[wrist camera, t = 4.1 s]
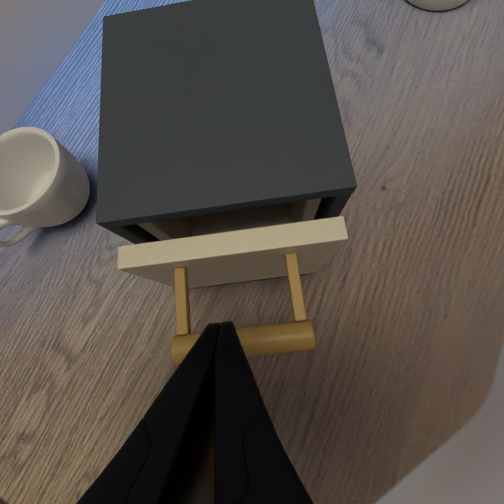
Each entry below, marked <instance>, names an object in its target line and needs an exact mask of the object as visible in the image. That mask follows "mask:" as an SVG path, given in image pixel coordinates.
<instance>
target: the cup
mask: <svg viewBox="0 0 504 504" xmlns="http://www.w3.org/2000/svg"><path fill="white" fill-rule="evenodd" d="M407 1H408V2H410V3H411V4H413V5H415V6H417V7H419V8H422V9H426V10H432V11H443V10H449V9H453V8H456V7H458V6H460V5H462V4H463V3H465V2H466V1H468V0H407Z"/></svg>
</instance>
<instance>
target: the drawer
mask: <svg viewBox="0 0 504 504" xmlns="http://www.w3.org/2000/svg"><path fill="white" fill-rule="evenodd" d="M321 199H322V198H319V199H312V200H305V201H297V202H290V203H283V204H276V205H269V206H262V207H255V208H247V209H240V210H233V211H226V212H219V213H212V214H205V215H197V216H190V217H183V218H176V219H169V220H162V221H155V222H147V223H140V224H138V225H139V226H140V227H142V228H143V229H145V230H146V231H148V232H149V233H151V234H152V235H154V236H155V237H157V238H158V239H159V240H161V241H156V242H148V243H141V244H134V245H126V246H119V247H118V269H119V270H122V271H125V272H128V273H131V274H135V275H138V276H141V277H144V278H147V279H150V280H154V281H157V282H160V283H163V284H166V285H169V286H172V287H175V307H176V331H177V336H174V337H173V339H172V342H171V358H172V361H173V363H174V364H176V365H179V364H180V363H181V362H182V361H183V359H184V358H185V356H186V355H187V353H188V352H189V351H190V349H191V348H192V346H193V345H194V343H195V342H196V340H197V339H198V338H199V336H200V335H201V333H194V334H191V323H190V305H189V288H196V287H204V286H212V285H220V284H228V283H236V282H244V281H251V280H259V279H267V278H275V277H283V276H288V283H289V289H290V296H291V303H292V310H293V316H294V321H295V322H289V323H280V324H272V325H263V326H254V327H246V328H237V329H236V331H237V334H238V337H239V339H240V342H241V344H242V347H243V350H244V352H245V355H246V357H251V356H261V355H270V354H279V353H288V352H297V351H306V350H314V349H315V347H316V342H315V334H314V329H313V326H312V323H311V321H310V320H307V317H306V311H305V305H304V298H303V292H302V286H301V280H300V274H307V273H315V272H319V270H320V269H321V268H322V267H323V266H324V265H325V264H326V263H327V262H328V261H329V260H330V258H331V257H332V256H333V255H334V254H335V253H336V252H337V251H338V250H339V249H340V247H341V246H342V245H343V244H344V243H345V242H346V241H347V240H348V235H347V230H346V225H345V221H344V217H343V216H340V217H332V218H325V219H318V220H314V217H315V214H316V212H317V209H318V207H319V204H320V201H321Z"/></svg>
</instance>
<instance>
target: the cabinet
mask: <svg viewBox="0 0 504 504" xmlns="http://www.w3.org/2000/svg"><path fill="white" fill-rule="evenodd" d="M356 187H357V185H356V180H355V176H354V172H353V168H352V163H351V159H350V155H349V150H348V146H347V142H346V138H345V133H344V129H343V125H342V121H341V116H340V112H339V108H338V104H337V99H336V95H335V91H334V86H333V82H332V78H331V74H330V69H329V65H328V61H327V57H326V52H325V48H324V44H323V39H322V35H321V31H320V27H319V22H318V18H317V14H316V10H315V5H314V1H313V0H191V1H186V2H180V3H175V4H170V5H164V6H159V7H153V8H148V9H142V10H137V11H132V12H126V13H121V14H115V15H110V16H104V17H103V41H102V69H101V97H100V124H99V152H98V180H97V208H96V223H97V224H98V225H100V226H102V227H104V228H106V229H108V230H110V231H112V232H114V233H115V234H117V235H119V236H121V237H123V238H125V239H127V240H129V241H130V242H132V243H134V244H141V243H148V242H156V241H161V240H159V239H158V238H157V237H155V236H154V235H152V234H151V233H149V232H148V231H146V230H145V229H143V228H142V227H140V226H139V225H138V224H140V223H147V222H155V221H162V220H169V219H176V218H183V217H190V216H197V215H205V214H212V213H219V212H226V211H233V210H240V209H247V208H255V207H262V206H269V205H276V204H283V203H290V202H297V201H305V200H312V199H319V198H322V199H321V201H320V204H319V207H318V209H317V212H316V214H315V217H314V220H318V219H325V218H332V217H338V216H339V214H340V212H341V211H342V209H343V207H344V206H345V204H346V203H347V201H348V199H349V198H350V196H351V194H352V193H353V192H354V190H355V189H356Z"/></svg>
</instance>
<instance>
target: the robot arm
mask: <svg viewBox="0 0 504 504" xmlns="http://www.w3.org/2000/svg"><path fill="white" fill-rule="evenodd" d="M76 504H313V502H312V500H311V498H310V496H309V495H308V493H307V491H306V489H305V487H304V485H303V484H302V482H301V480H300V478H299V476H298V474H297V472H296V471H295V469H294V467H293V465H292V463H291V461H290V460H289V458H288V456H287V454H286V452H285V450H284V448H283V446H282V444H281V442H280V440H279V438H278V436H277V433H276V431H275V429H274V426H273V424H272V422H271V419H270V417H269V414H268V412H267V409H266V407H265V405H264V402H263V399H262V396H261V394H260V391H259V389H258V386H257V383H256V381H255V378H254V376H253V373H252V370H251V368H250V365H249V363H248V360H247V357H246V355H245V352H244V350H243V347H242V344H241V342H240V339H239V337H238V334H237V331H236V329H235V326H234V324H233V322H232V321H226V322H221V324H220V323H210V324H208V325H207V326H206V328H205V329H204V330H203V332H202V333H201V335H200V336H199V338H198V339H197V340H196V342H195V343H194V345H193V346H192V348H191V349H190V351H189V352H188V353H187V355H186V356H185V358H184V359H183V361H182V362H181V363H180V365H179V366H178V368H177V369H176V371H175V372H174V373H173V375H172V376H171V378H170V379H169V381H168V382H167V384H166V385H165V386H164V388H163V389H162V391H161V392H160V394H159V395H158V396H157V398H156V399H155V401H154V402H153V404H152V405H151V407H150V408H149V409H148V411H147V412H146V414H145V415H144V418H142V419H141V421H140V422H139V424H138V425H137V426H136V428H135V429H134V431H133V432H132V434H131V435H130V436H129V438H128V439H127V440H126V442H125V443H124V445H123V446H122V447H121V449H120V450H119V451H118V453H117V454H116V455H115V456H114V458H113V459H112V460H111V461H110V463H109V464H108V465H107V467H106V468H105V469H104V470H103V472H102V473H101V474H100V475H99V477H98V478H97V479H96V480H95V481H94V483H93V484H92V485H91V486H90V488H89V489H88V490H87V491H86V492H85V494H84V495H83V496H82V497H81V499H80V500H79V501H78V502H77V503H76Z"/></svg>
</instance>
